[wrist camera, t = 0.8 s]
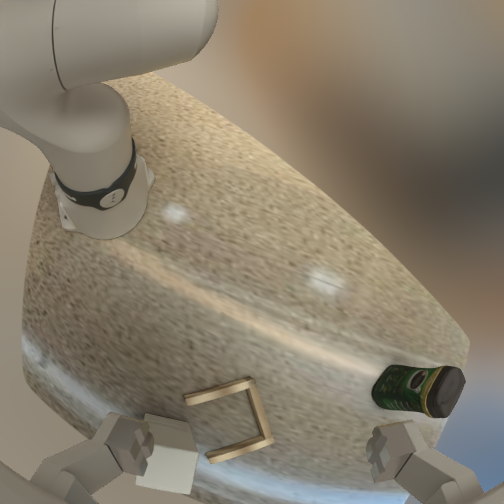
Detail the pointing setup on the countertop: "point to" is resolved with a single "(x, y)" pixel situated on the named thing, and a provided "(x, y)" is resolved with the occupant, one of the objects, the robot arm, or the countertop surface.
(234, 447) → the corral
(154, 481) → the supplement box
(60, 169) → the robot arm
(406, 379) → the coffee jar
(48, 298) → the countertop surface
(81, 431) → the countertop surface
